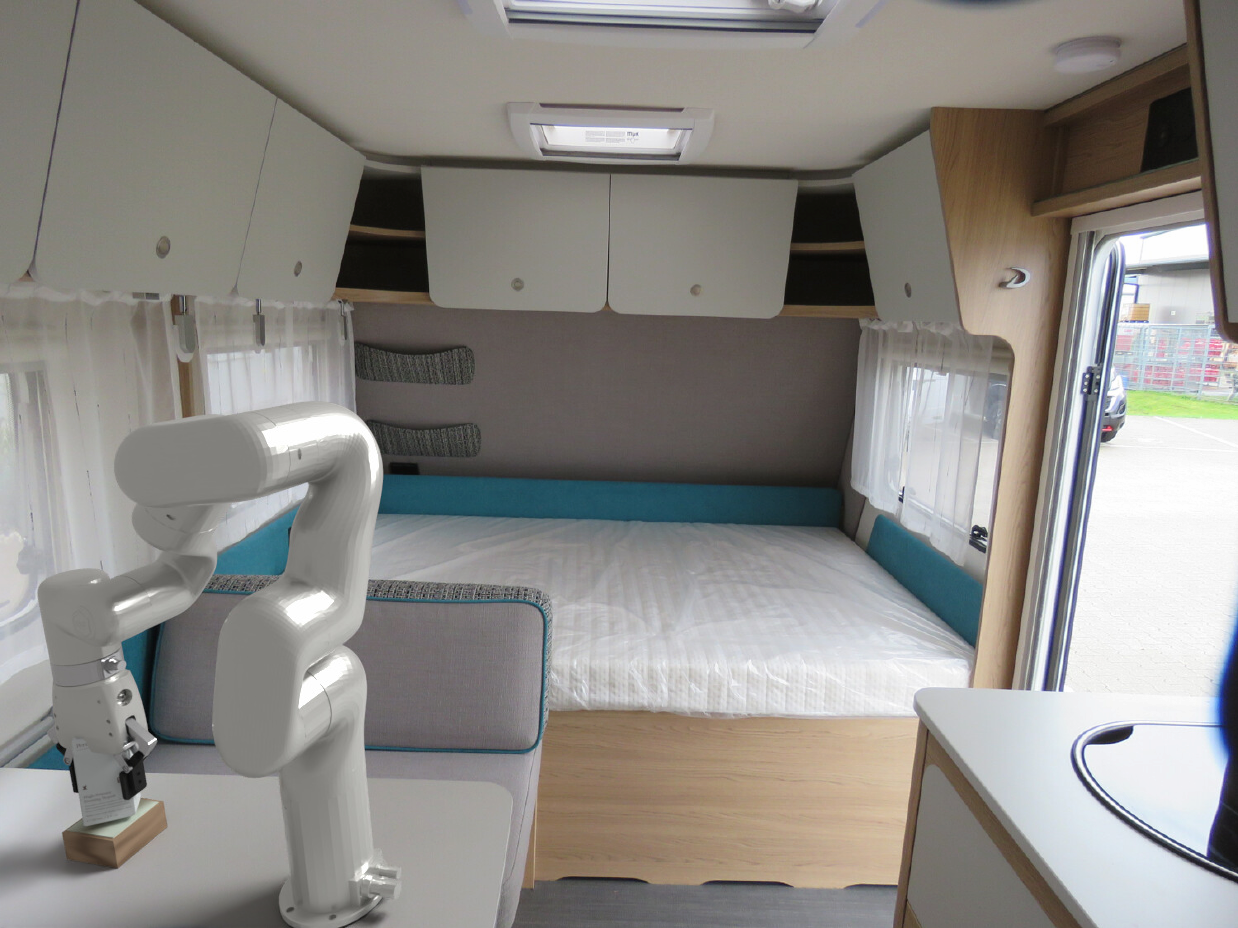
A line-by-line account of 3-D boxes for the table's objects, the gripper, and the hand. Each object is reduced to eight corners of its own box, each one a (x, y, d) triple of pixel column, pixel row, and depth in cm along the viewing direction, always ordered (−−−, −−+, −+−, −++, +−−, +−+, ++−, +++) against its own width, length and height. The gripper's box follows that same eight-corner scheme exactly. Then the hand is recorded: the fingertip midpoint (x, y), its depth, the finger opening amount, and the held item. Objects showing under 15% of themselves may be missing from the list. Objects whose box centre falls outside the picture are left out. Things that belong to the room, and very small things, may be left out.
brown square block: (167, 826, 103) (163, 800, 102) (118, 868, 96) (113, 839, 95) (119, 819, 105) (115, 792, 104) (67, 859, 97) (61, 831, 96)
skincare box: (82, 828, 96) (67, 743, 94) (90, 808, 100) (75, 726, 98) (138, 814, 98) (124, 731, 96) (143, 795, 102) (130, 715, 100)
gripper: (169, 658, 97) (188, 780, 100) (60, 648, 101) (82, 766, 104) (120, 686, 90) (142, 816, 93) (4, 674, 93) (30, 800, 97)
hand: (110, 788), depth 99 cm, fingers closed on skincare box, 7 cm apart
